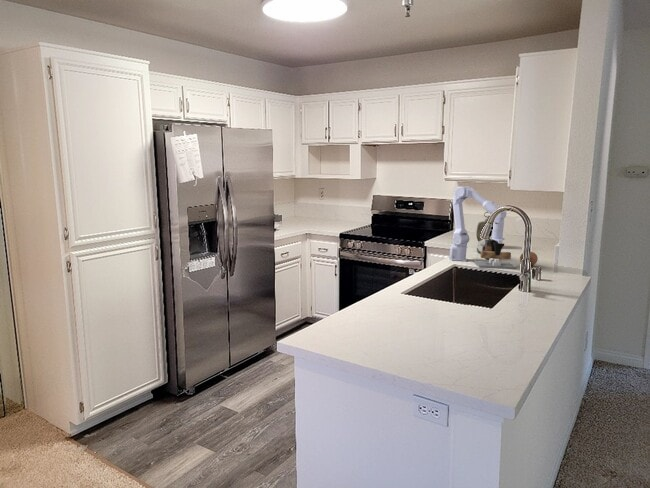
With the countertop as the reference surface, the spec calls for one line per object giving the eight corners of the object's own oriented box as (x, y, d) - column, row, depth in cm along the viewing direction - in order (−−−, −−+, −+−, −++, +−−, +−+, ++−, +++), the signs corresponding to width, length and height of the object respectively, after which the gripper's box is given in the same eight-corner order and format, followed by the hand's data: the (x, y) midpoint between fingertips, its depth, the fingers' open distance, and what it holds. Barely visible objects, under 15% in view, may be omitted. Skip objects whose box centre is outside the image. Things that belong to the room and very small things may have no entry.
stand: (479, 267, 266) (479, 259, 265) (474, 262, 277) (474, 255, 277) (515, 269, 264) (516, 261, 263) (509, 264, 276) (509, 256, 275)
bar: (481, 258, 269) (482, 252, 268) (480, 256, 272) (480, 251, 271) (510, 259, 268) (511, 253, 267) (508, 258, 271) (509, 252, 270)
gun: (483, 261, 312) (484, 239, 314) (494, 258, 285) (494, 233, 287) (475, 261, 313) (476, 238, 314) (485, 257, 286) (486, 233, 287)
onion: (521, 269, 277) (516, 253, 279) (538, 266, 275) (533, 250, 277) (523, 267, 268) (519, 250, 270) (541, 263, 266) (536, 246, 268)
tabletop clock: (475, 247, 329) (478, 211, 325) (475, 245, 338) (477, 210, 333) (497, 248, 326) (501, 212, 321) (496, 246, 334) (499, 211, 330)
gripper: (508, 232, 260) (506, 256, 262) (501, 228, 274) (499, 251, 276) (495, 232, 260) (493, 256, 263) (488, 228, 274) (486, 251, 277)
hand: (495, 253), depth 270 cm, fingers open, 7 cm apart
